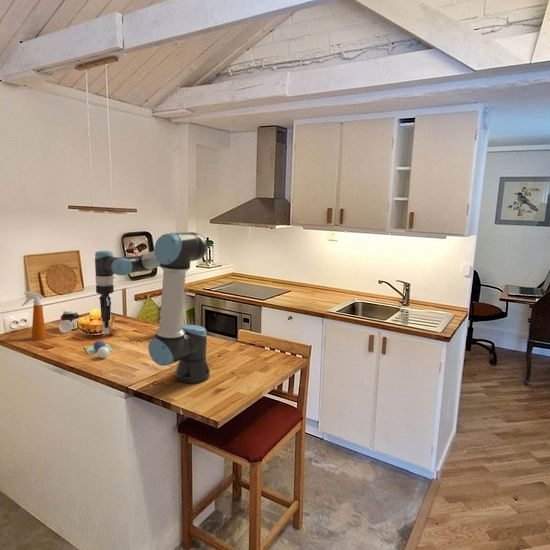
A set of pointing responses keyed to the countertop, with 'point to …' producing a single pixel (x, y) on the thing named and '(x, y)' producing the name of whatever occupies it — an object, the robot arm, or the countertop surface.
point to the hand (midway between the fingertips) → (106, 333)
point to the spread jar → (69, 320)
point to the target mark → (93, 351)
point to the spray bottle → (37, 316)
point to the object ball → (98, 345)
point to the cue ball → (103, 352)
